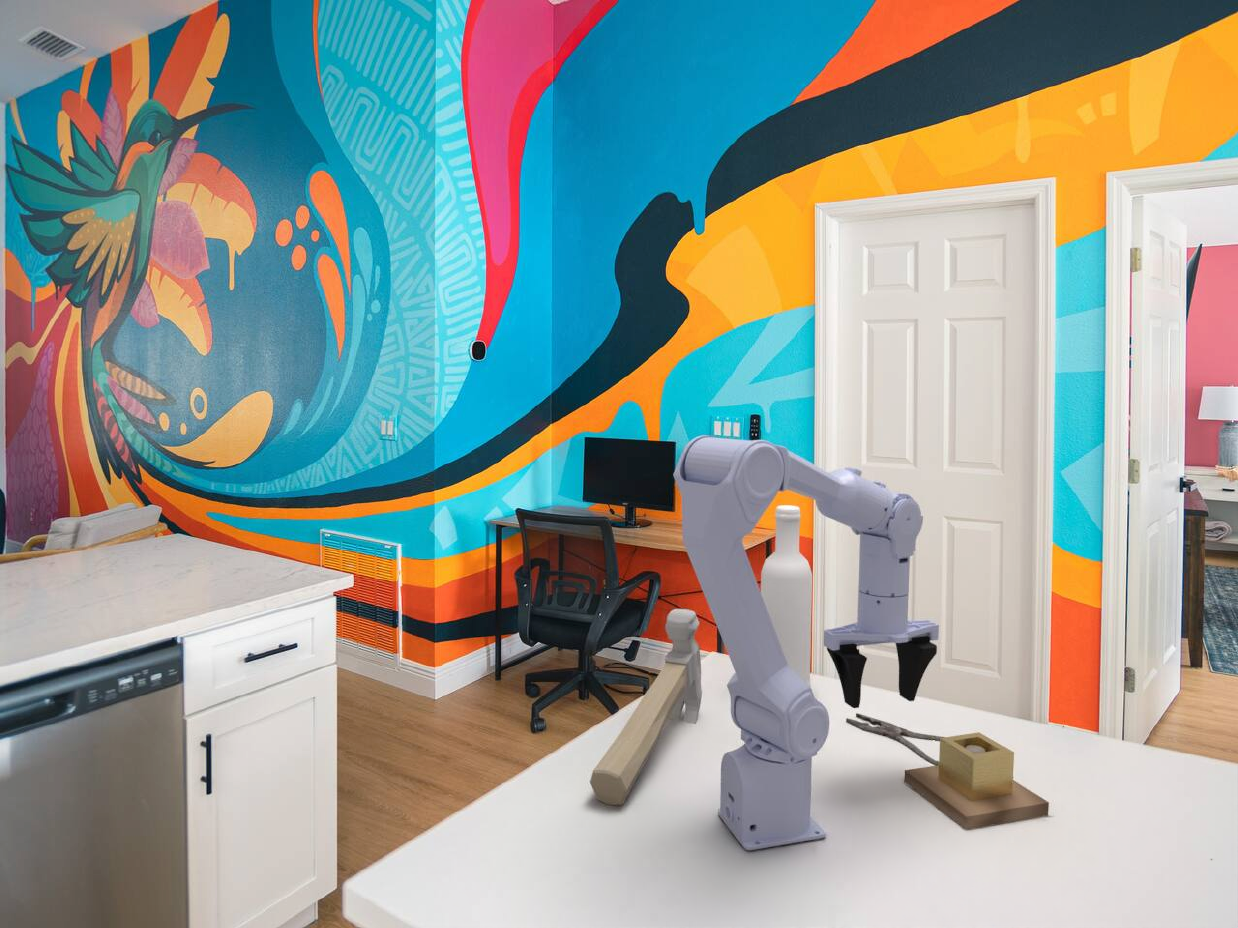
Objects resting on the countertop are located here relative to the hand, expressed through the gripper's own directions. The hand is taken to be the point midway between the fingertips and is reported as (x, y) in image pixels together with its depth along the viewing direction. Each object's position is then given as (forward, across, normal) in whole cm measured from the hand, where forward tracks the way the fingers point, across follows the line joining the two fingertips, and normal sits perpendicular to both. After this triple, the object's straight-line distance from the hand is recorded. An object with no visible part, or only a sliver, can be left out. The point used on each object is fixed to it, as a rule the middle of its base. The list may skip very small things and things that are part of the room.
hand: (879, 701), depth 96 cm
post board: (+10, +9, -6) cm, 15 cm away
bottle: (+11, +2, +28) cm, 30 cm away
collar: (+9, +9, -6) cm, 14 cm away
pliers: (+11, +11, +8) cm, 17 cm away
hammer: (+11, -24, +15) cm, 30 cm away
